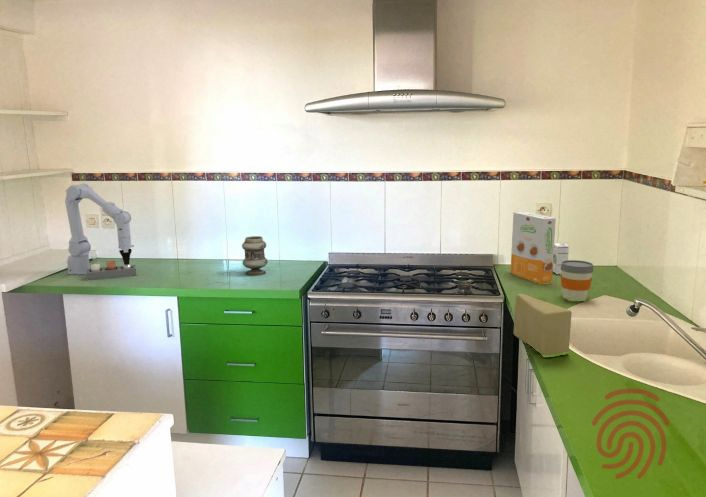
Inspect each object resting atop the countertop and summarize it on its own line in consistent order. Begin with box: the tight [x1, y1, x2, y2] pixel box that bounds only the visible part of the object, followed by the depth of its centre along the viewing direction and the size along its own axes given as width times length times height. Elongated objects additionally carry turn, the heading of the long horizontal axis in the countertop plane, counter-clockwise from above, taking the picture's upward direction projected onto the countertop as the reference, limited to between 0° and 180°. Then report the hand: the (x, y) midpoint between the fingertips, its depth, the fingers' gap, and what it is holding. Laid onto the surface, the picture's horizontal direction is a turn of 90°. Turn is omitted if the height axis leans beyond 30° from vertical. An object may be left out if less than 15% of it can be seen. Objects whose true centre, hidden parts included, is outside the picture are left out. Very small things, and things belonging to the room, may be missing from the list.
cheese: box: [513, 293, 572, 355], centre depth 186 cm, size 22×10×15 cm, turn 19°
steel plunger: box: [121, 262, 132, 269], centre depth 284 cm, size 4×4×4 cm
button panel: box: [85, 264, 137, 281], centre depth 281 cm, size 9×22×4 cm, turn 113°
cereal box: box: [510, 211, 557, 285], centre depth 268 cm, size 22×6×30 cm, turn 20°
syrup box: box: [552, 242, 570, 275], centre depth 278 cm, size 6×6×14 cm
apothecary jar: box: [241, 235, 268, 277], centre depth 283 cm, size 12×12×18 cm
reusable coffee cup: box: [560, 259, 594, 300], centre depth 237 cm, size 13×12×15 cm
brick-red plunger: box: [105, 260, 116, 270], centre depth 281 cm, size 4×4×4 cm
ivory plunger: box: [90, 263, 101, 272], centre depth 278 cm, size 4×4×4 cm
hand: (126, 264), depth 283 cm, fingers closed, pressing on steel plunger
